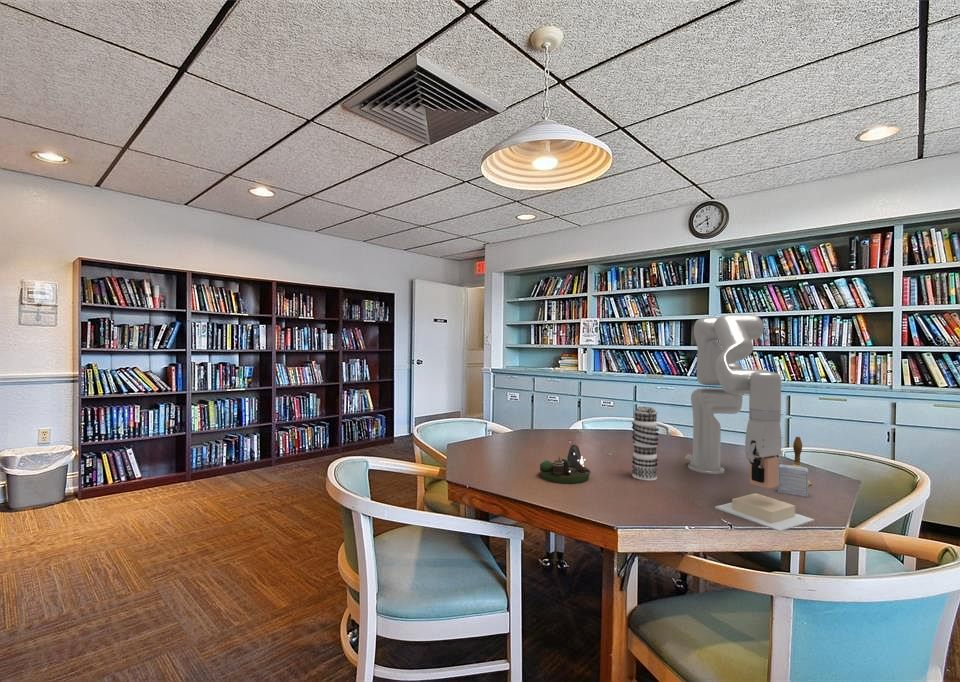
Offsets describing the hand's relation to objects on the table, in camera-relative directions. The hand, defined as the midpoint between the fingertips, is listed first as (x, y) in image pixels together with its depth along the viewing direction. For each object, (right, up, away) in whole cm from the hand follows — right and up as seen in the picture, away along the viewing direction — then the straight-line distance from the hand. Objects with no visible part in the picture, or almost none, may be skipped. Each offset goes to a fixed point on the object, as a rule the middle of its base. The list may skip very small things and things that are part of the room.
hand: (763, 479), depth 126 cm
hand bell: (+31, -11, +31) cm, 45 cm away
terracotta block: (0, -2, 0) cm, 2 cm away
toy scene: (-50, -10, +35) cm, 62 cm away
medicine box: (+22, -11, +19) cm, 31 cm away
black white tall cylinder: (-21, -10, +35) cm, 42 cm away
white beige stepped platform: (0, -11, 0) cm, 11 cm away
